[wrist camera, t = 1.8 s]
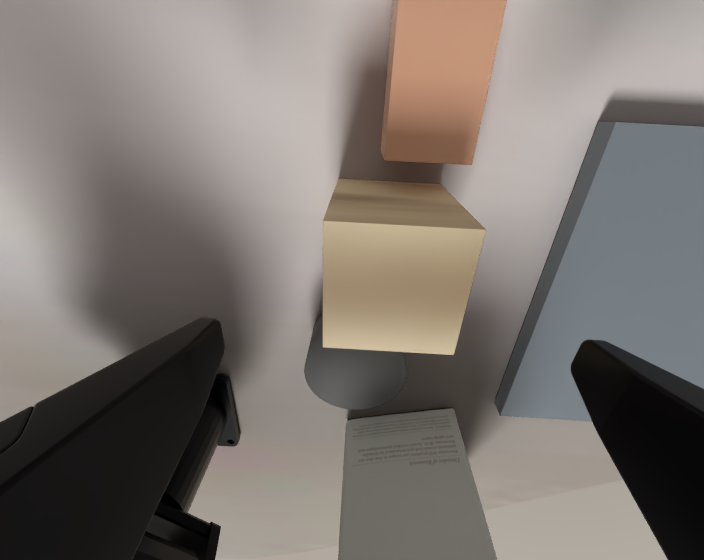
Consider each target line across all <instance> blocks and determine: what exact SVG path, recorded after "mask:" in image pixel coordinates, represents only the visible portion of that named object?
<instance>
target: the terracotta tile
mask: <svg viewBox="0 0 704 560" xmlns="http://www.w3.org/2000/svg"><path fill="white" fill-rule="evenodd" d="M506 2H507V0H393V5H392V17H391V30H390V42H389V54H388V66H387V78H386V90H385V102H384V114H383V127H382V139H381V153H382V156H383V158H384V160H387V161H406V162H425V163H444V164H462V165H472V161H473V157H474V152H475V147H476V143H477V138H478V133H479V129H480V124H481V119H482V115H483V110H484V105H485V101H486V96H487V91H488V87H489V82H490V77H491V73H492V68H493V63H494V58H495V54H496V49H497V44H498V40H499V35H500V30H501V26H502V21H503V16H504V12H505V7H506Z"/></svg>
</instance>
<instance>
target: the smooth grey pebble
mask: <svg viewBox="0 0 704 560" xmlns="http://www.w3.org/2000/svg"><path fill="white" fill-rule="evenodd" d="M304 373H305V378H306V381H307V384H308V386H309V387H310V389H311V390H312V391H313V392H314V393H315V394H316V395H317V396H318V397H319V398H321V399H322V400H323V401H325V402H327V403H329V404H331V405H334V406H337V407H340V408H345V409H356V410H359V409H369V408H373V407H377V406H380V405H382V404H384V403H386V402H388V401H389V400H391V399H392V398H394V397H395V396H396V395H397V394H398V393H399V392H400V390H401V389H402V387H403V385H404V383H405V379H406V366H405V360H404V353H403V352H394V351H377V350H360V349H342V348H325V347H323V313H322V314H321V315H320V316H319V317H318V319H317V321H316V323H315V325H314V329H313V333H312V337H311V342H310V346H309V350H308V354H307V359H306V363H305V369H304Z"/></svg>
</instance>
